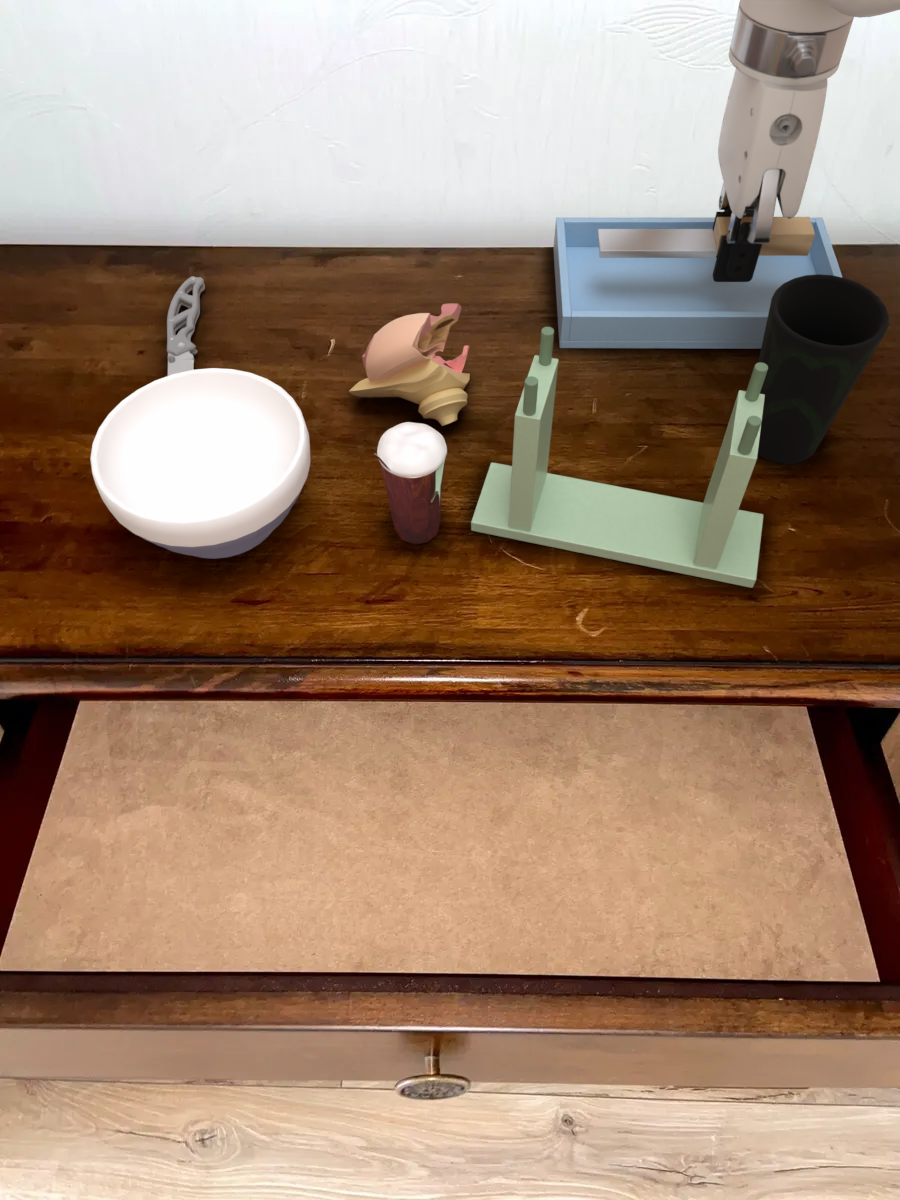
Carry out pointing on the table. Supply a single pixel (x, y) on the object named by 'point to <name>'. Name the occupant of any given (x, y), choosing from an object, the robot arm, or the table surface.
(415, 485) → the milkshake
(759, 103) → the robot arm
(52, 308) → the table surface
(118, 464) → the bowl
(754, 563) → the rack
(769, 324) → the cup
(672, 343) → the tray
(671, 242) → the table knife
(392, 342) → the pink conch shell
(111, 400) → the table surface
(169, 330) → the knife
